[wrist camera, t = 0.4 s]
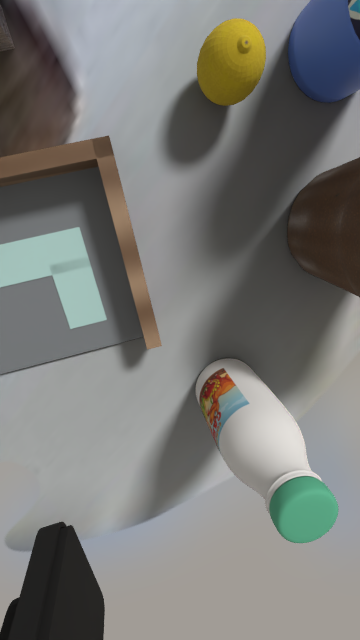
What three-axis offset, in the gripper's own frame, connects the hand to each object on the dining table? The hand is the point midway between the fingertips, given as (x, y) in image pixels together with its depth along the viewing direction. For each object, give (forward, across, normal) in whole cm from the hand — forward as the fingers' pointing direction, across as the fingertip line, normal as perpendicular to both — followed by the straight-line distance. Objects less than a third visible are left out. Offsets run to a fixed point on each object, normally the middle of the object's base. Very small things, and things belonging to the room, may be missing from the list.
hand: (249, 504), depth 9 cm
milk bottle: (+30, -6, +14) cm, 33 cm away
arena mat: (+29, +11, -5) cm, 32 cm away
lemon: (+30, -11, -18) cm, 37 cm away
